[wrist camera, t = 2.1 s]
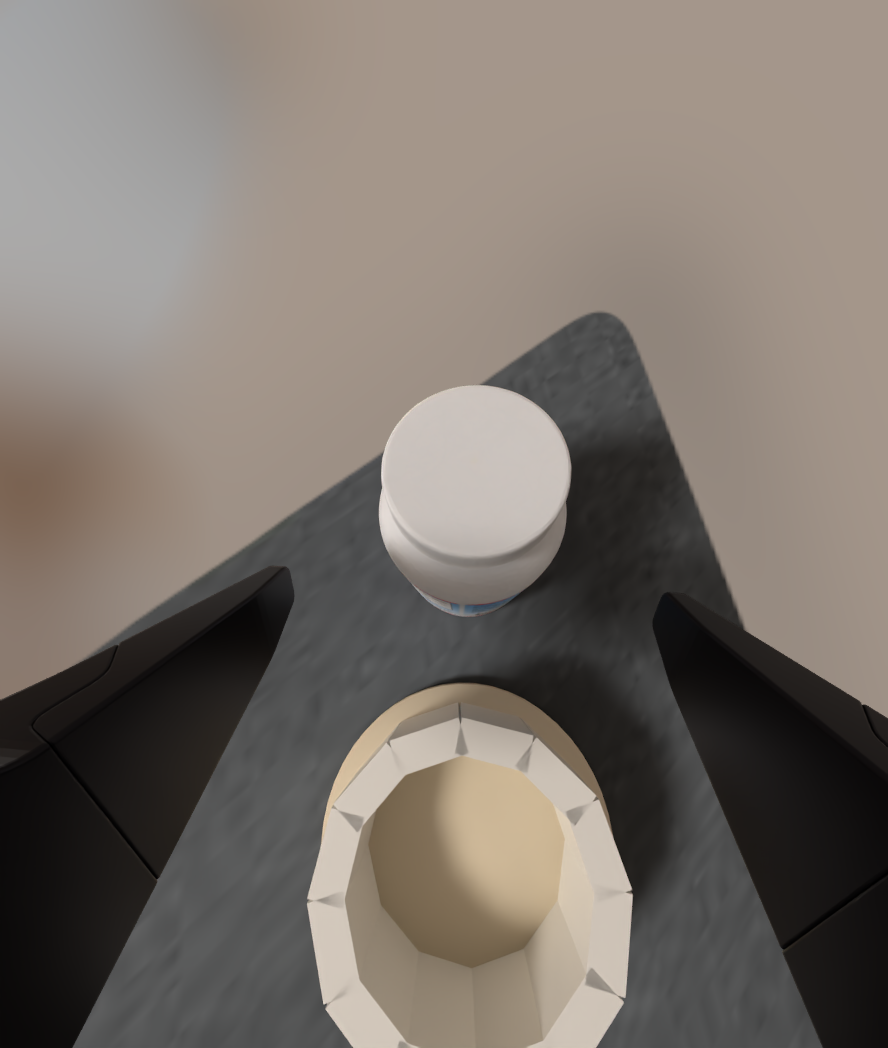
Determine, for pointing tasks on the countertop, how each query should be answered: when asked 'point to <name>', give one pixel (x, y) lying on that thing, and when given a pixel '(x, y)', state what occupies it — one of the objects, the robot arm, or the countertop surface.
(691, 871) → the countertop surface
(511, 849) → the socket dock
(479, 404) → the pill bottle
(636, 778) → the countertop surface
